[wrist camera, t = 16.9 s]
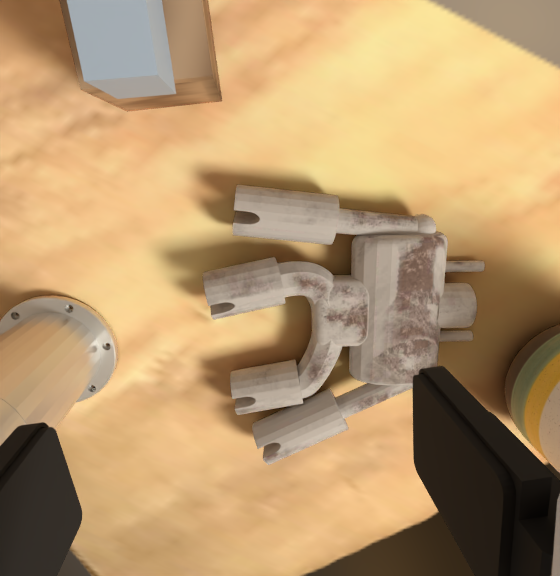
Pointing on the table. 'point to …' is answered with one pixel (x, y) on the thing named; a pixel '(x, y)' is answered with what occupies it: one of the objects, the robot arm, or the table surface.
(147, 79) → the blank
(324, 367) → the white branched piece
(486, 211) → the table surface
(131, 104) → the open wooden box
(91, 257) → the table surface
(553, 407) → the vase
